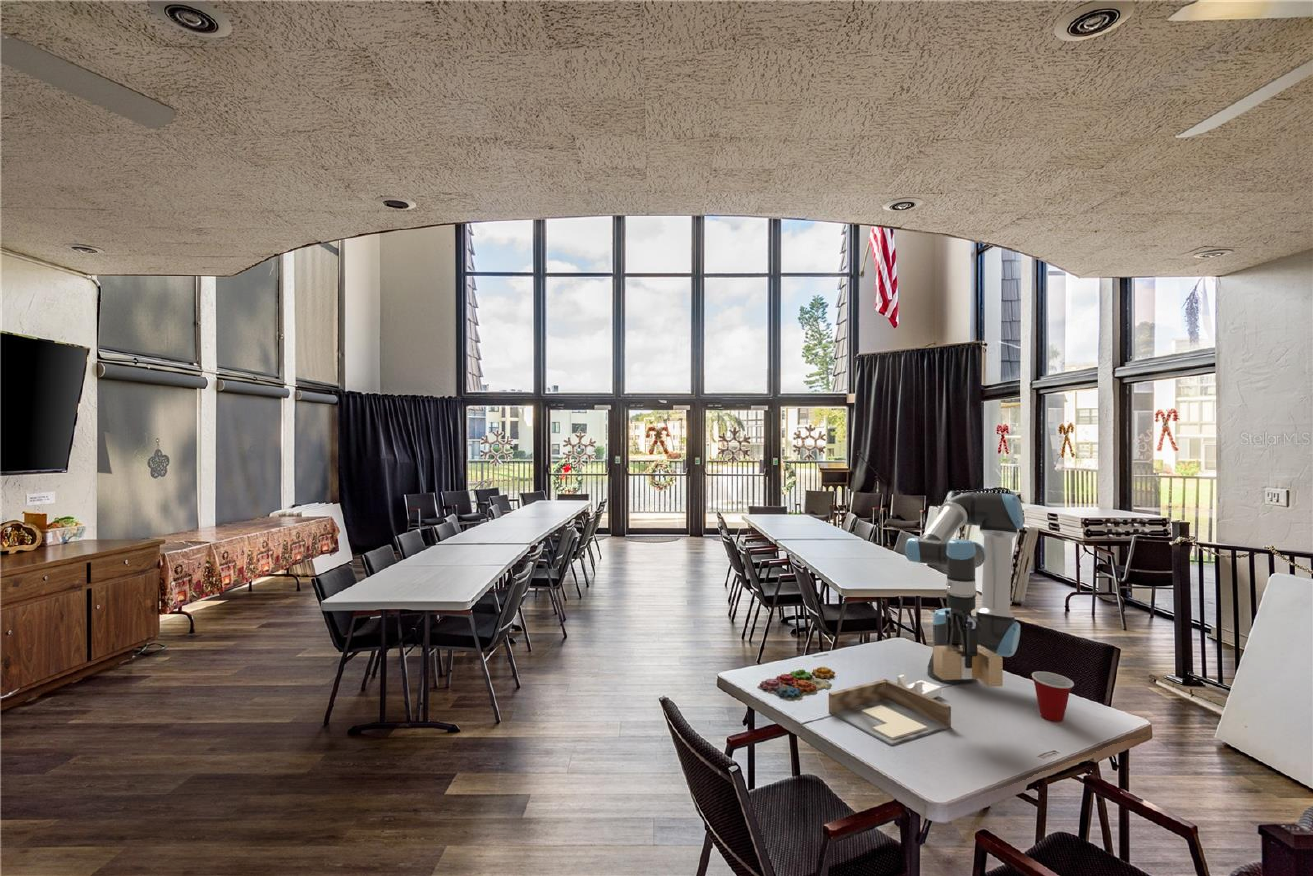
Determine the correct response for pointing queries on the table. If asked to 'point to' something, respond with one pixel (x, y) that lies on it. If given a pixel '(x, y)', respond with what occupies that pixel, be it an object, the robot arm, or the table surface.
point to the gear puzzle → (798, 683)
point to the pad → (893, 722)
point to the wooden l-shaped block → (983, 665)
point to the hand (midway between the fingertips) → (961, 674)
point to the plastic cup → (1052, 694)
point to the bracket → (920, 687)
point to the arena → (894, 698)
